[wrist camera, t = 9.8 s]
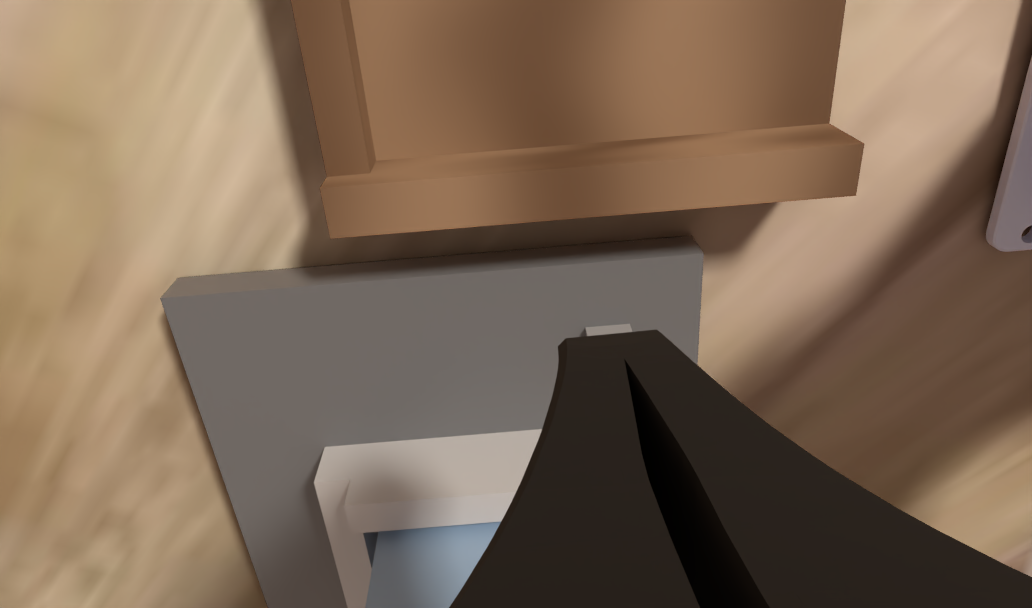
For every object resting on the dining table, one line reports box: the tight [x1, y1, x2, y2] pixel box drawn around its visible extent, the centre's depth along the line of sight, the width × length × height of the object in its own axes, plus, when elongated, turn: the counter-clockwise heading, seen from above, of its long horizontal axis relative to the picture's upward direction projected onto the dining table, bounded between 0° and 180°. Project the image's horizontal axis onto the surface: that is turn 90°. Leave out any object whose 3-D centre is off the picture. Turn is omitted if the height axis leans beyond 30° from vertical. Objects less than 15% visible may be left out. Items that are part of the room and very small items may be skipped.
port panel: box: [160, 236, 704, 608], centre depth 22 cm, size 14×20×4 cm
